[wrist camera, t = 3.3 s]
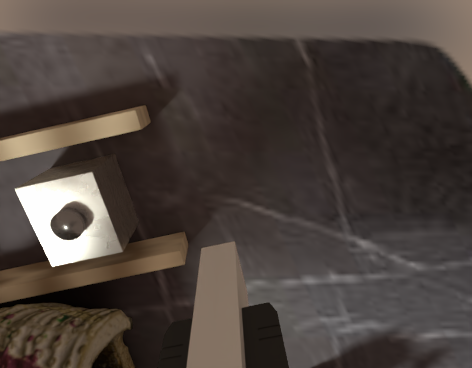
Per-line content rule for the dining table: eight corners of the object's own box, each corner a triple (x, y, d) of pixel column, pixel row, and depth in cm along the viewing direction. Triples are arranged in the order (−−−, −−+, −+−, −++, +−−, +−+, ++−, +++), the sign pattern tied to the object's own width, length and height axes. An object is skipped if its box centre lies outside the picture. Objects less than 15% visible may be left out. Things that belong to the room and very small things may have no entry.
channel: (-48, 294, 33) (-103, 341, 27) (-129, 167, 28) (-216, 192, 23) (188, 244, 32) (181, 282, 27) (145, 105, 27) (126, 114, 22)
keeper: (80, 234, 31) (47, 272, 26) (51, 167, 29) (7, 192, 23) (139, 221, 31) (119, 257, 25) (115, 153, 29) (87, 175, 23)
